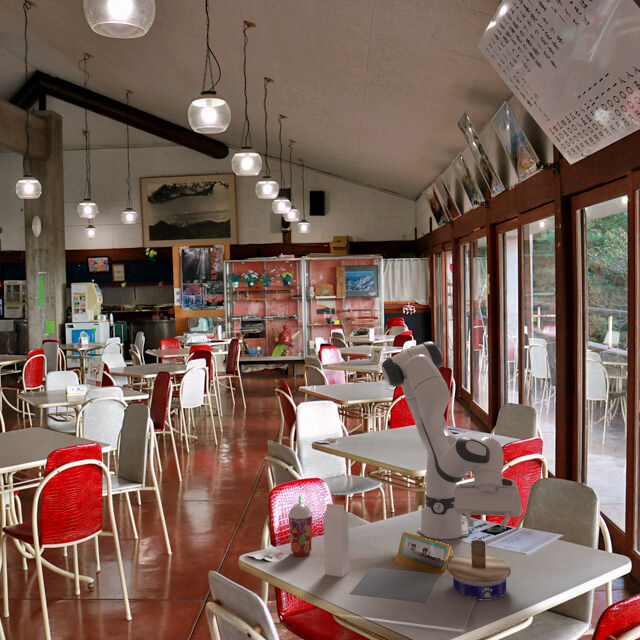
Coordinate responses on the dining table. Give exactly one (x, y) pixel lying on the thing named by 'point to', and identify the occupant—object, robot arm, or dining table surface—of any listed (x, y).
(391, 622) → the dining table surface
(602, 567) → the dining table surface
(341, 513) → the milk
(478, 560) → the lid
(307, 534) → the smoothie
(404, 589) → the mat
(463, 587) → the dog bowl
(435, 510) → the robot arm
